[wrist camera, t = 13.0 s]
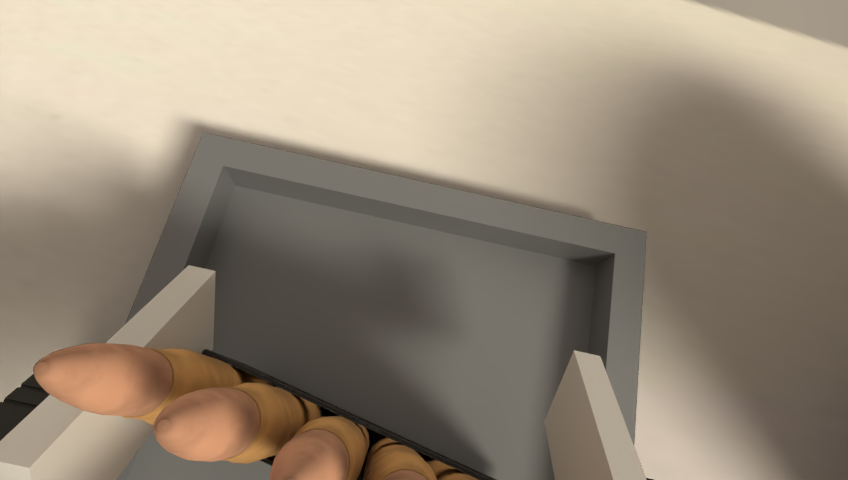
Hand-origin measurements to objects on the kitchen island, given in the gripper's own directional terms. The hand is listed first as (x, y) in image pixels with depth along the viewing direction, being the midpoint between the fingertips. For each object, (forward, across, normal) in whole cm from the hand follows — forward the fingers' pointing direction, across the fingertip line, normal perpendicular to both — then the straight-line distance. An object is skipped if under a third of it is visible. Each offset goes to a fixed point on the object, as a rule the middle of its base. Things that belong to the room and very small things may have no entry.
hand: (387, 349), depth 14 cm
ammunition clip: (+1, 0, -5) cm, 6 cm away
